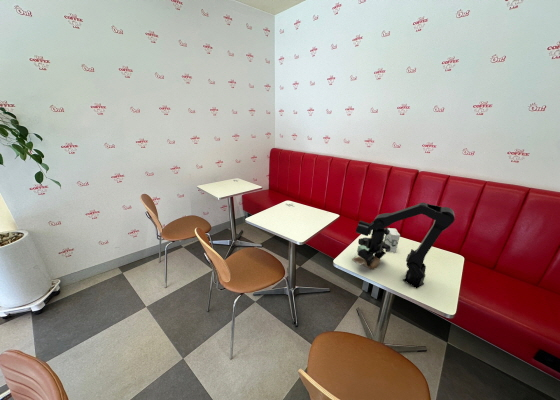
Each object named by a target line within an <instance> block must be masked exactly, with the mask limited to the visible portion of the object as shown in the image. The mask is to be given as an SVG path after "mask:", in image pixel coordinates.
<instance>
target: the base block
mask: <svg viewBox="0 0 560 400" xmlns="http://www.w3.org/2000/svg"><path fill="white" fill-rule="evenodd" d="M362 249H366V250H367V251H368V250H369V248H366V246H363V245H358V246H357V250H356V253H358V251H360V250H362Z"/></svg>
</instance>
